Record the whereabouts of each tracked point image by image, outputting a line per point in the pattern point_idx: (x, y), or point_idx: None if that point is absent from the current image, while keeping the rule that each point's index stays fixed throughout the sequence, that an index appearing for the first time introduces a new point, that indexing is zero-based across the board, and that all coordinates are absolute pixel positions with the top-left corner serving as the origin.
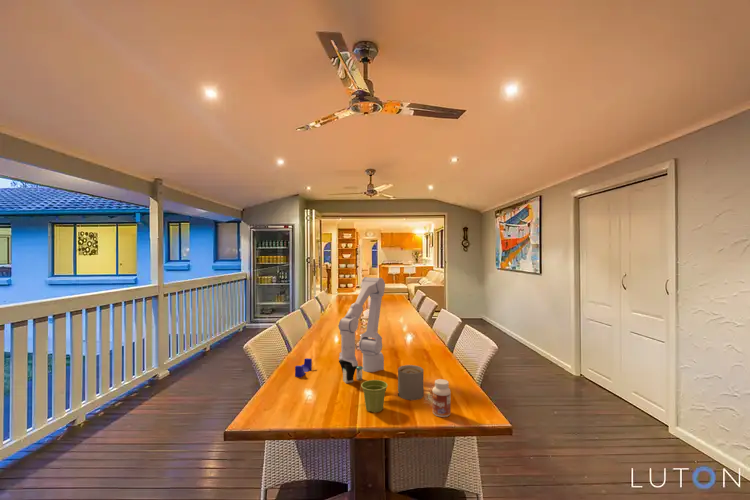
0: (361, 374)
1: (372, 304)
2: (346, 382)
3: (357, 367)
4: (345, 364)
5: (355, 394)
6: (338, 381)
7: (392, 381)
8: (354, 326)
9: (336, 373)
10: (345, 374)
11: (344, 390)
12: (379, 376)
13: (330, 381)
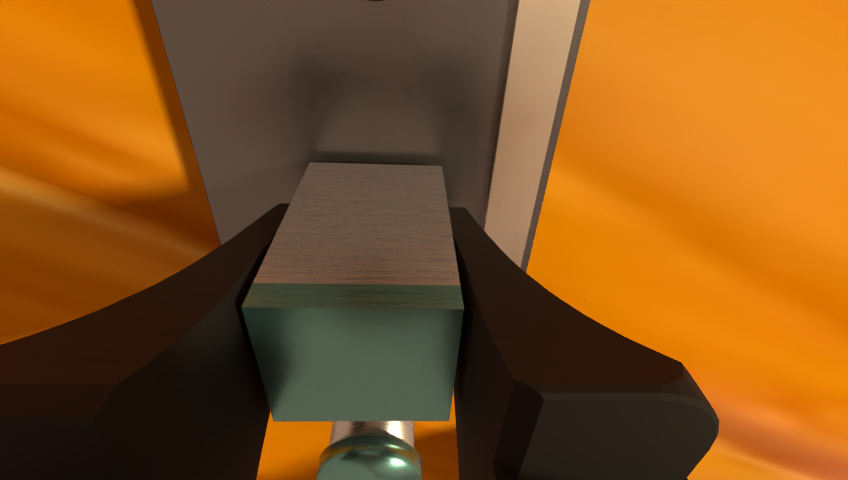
0: None
1: None
2: (306, 170)
3: (364, 468)
4: (10, 442)
5: (21, 139)
6: (559, 130)
7: (288, 476)
8: None
9: (808, 219)
10: (321, 233)
11: None
12: (428, 456)
13: (647, 18)
